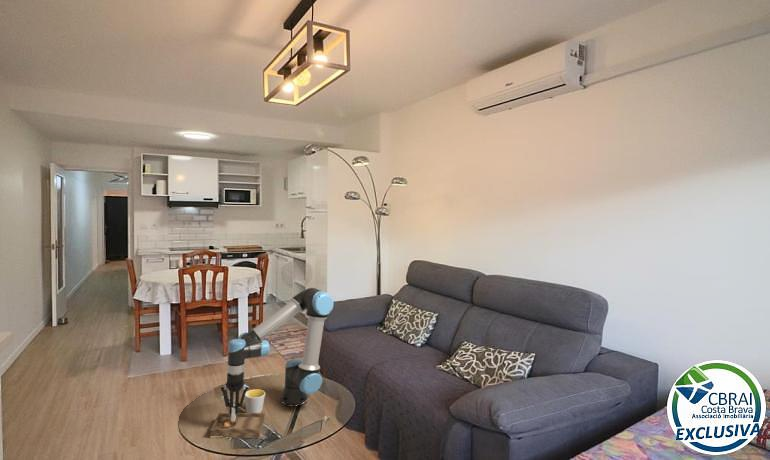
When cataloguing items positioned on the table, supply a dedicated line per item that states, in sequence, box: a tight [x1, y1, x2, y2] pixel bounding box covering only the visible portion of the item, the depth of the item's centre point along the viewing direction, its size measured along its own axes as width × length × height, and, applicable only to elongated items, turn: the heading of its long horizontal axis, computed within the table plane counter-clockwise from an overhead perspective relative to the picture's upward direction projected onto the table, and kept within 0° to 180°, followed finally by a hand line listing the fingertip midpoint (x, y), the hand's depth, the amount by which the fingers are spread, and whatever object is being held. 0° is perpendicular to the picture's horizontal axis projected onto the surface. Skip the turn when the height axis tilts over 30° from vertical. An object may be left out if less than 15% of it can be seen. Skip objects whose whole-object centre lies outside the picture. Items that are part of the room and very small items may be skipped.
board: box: [209, 412, 266, 439], centre depth 203 cm, size 22×16×4 cm
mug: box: [244, 389, 266, 413], centre depth 221 cm, size 14×10×10 cm
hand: (233, 420), depth 202 cm, fingers closed
